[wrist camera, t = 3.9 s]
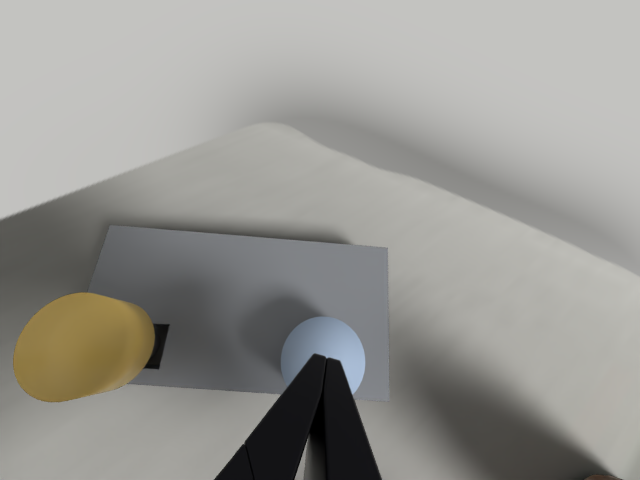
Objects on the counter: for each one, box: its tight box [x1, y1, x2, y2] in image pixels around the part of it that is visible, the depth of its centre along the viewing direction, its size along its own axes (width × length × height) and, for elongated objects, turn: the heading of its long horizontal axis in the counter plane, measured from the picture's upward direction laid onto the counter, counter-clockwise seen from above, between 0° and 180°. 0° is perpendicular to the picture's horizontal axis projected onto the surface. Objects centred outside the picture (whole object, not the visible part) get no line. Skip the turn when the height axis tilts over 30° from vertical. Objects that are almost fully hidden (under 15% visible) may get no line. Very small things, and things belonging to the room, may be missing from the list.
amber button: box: [13, 293, 160, 402], centre depth 14 cm, size 4×4×6 cm
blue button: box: [281, 317, 365, 395], centre depth 17 cm, size 4×4×6 cm
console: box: [87, 225, 389, 402], centre depth 19 cm, size 18×9×4 cm, turn 86°
